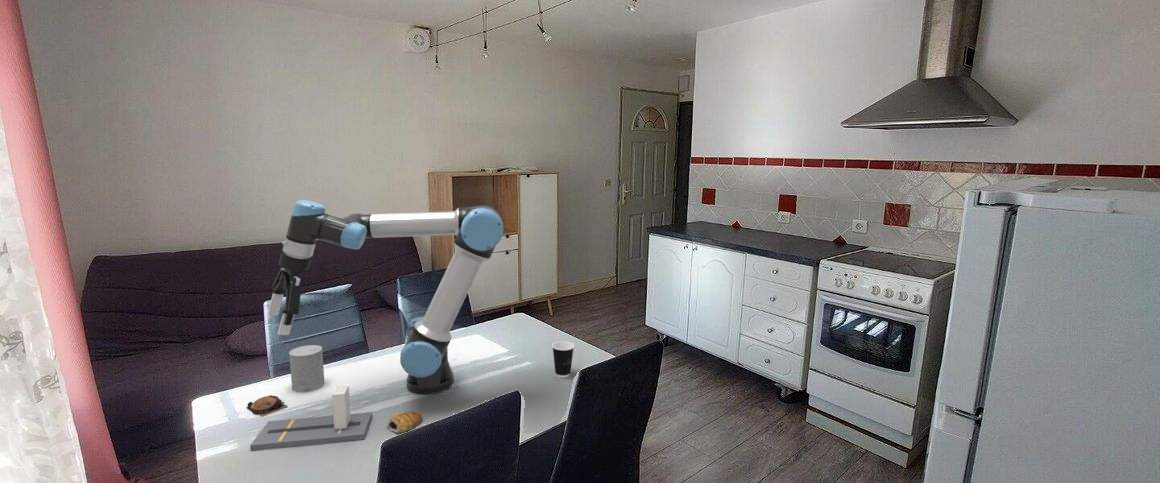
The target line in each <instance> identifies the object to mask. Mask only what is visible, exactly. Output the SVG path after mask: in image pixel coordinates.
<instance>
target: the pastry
mask: <svg viewBox="0 0 1160 483" xmlns="http://www.w3.org/2000/svg"><path fill="white" fill-rule="evenodd" d="M422 420H423V417H422V414H421V412H419V411H415V410H414V411H411V412H410V411H407V412H399V413H398V414H395V415H393V416H392V417H391V418H389V420H388V422H387V423H386V427H387V428H388V430H389V431H391V432H394V433H396V434H404V433H407V432H408V431H411V430H413V429H414V428H415V427H417V426H419V424H421V423H422Z"/></svg>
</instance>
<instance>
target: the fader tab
mask: <svg viewBox="0 0 1160 483" xmlns="http://www.w3.org/2000/svg"><path fill="white" fill-rule="evenodd" d="M331 396H332V397H331V398H332V412H333V413H332V414H333V415H334V429H344V428H347V426H348V424H349V421H350V419H351V417H350V414H351V403H350V401H351V400H350V386H349V385H340V386H336V387H335V388H334V391H333V392H332V395H331ZM333 415H332V416H333Z"/></svg>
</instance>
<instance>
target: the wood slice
mask: <svg viewBox="0 0 1160 483" xmlns="http://www.w3.org/2000/svg"><path fill="white" fill-rule="evenodd" d="M286 408H288V405H287V404H285V401H282V399H280V398H279V396H277V395H268V396H263V397H259V398H258V399H256V400H255V401H253V402H252V401H249V402H248V403H247V406H246V409H247V410H248V411H249V412H251V413H252V414H254V415H257V416H259V417H263V418H264V417H266V416H269V415H271V414H273V413H276V412H279V411H282V410H284V409H286Z"/></svg>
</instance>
